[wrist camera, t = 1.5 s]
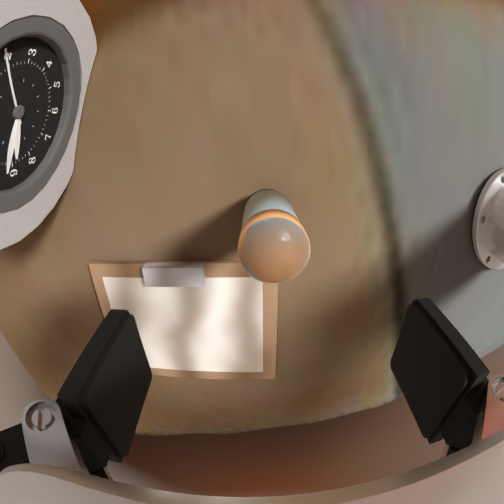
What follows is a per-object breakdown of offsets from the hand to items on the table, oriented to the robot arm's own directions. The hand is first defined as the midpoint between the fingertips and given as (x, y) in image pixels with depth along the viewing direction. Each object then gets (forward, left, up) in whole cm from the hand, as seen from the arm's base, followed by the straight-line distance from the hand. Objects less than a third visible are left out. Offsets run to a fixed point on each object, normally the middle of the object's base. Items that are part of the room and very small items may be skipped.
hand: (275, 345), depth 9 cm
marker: (0, 0, -18) cm, 18 cm away
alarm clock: (+21, -12, -18) cm, 30 cm away
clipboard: (+9, +13, -18) cm, 24 cm away
